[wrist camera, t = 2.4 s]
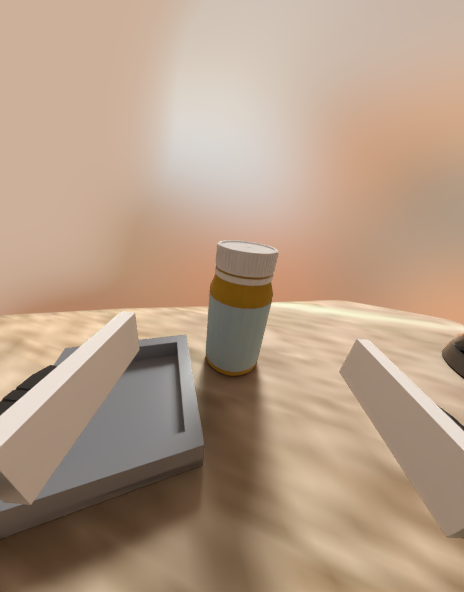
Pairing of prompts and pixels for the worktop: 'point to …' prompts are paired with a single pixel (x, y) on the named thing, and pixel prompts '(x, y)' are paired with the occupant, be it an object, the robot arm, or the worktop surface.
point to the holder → (124, 438)
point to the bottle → (239, 305)
